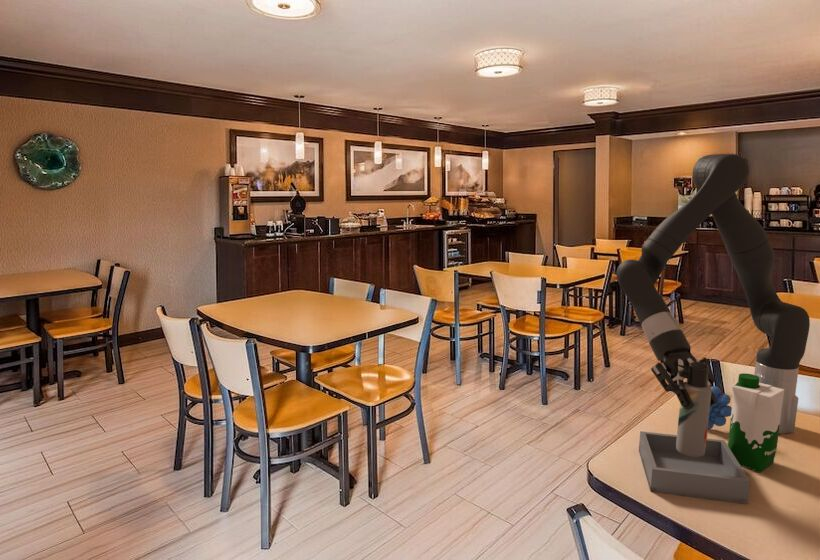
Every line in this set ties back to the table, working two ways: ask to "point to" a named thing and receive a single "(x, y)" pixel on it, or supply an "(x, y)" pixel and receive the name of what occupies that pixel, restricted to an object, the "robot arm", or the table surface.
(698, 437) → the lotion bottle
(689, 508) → the table surface
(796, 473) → the table surface
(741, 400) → the milk carton
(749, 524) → the table surface
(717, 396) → the grapes
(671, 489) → the bin
